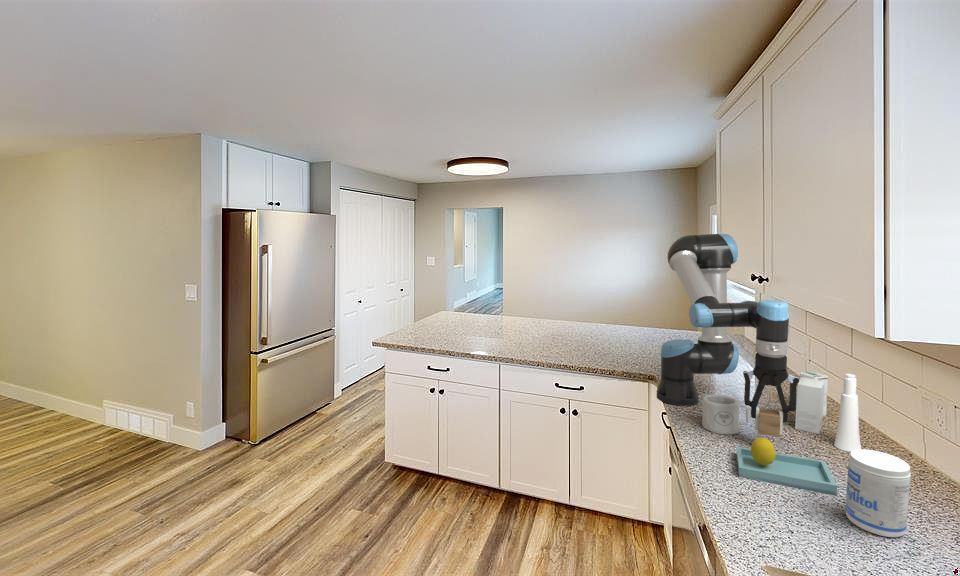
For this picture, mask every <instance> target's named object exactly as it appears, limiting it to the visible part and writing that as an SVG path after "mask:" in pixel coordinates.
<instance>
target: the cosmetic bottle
mask: <svg viewBox="0 0 960 576" xmlns="http://www.w3.org/2000/svg"><path fill="white" fill-rule="evenodd" d="M842 390H843V392H842V393H841V396H840V404H839V411H838V412H839V413H838V415H839V416H838V422H837V423H838V425H837V430H836V436H835V440H834V444H833V445H834V447H835V448H836V449H838V450H841V451H844V452H848V453H851V451H853V450H858V449H862V445H861V440H860V422H859V418H860V417H859V415H860V414H859V396H858V394H857V378H856V374H852V373H845V374H844V378H843V389H842Z"/></svg>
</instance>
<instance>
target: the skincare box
mask: <svg viewBox="0 0 960 576" xmlns="http://www.w3.org/2000/svg"><path fill="white" fill-rule="evenodd" d="M824 383H825V381H823V380H817V379H810V378H804V377H801V378H800V377H799V383H798V385H797V387H796V411H795V422H794V424H795V425H794V429H795V430H798V431H803V432H808V433H812V434H816V435H820V433H821V430H822V428H823V420H824V416H823V402H824Z"/></svg>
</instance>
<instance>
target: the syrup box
mask: <svg viewBox="0 0 960 576" xmlns="http://www.w3.org/2000/svg"><path fill="white" fill-rule="evenodd" d="M801 377H804V378H810V379H817V380H823V381H825V383H824V402H823V417H826V416H827V406H828V405H827V404H828V403H827V402H828V384H829V383H828V382H829V381H828V379H829V376H828V375H825V374H822V373H818V372H815V371H802V372H799V379H800V378H801Z"/></svg>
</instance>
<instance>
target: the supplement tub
mask: <svg viewBox="0 0 960 576" xmlns="http://www.w3.org/2000/svg"><path fill="white" fill-rule="evenodd" d="M911 475H912V473H911V466H910V465H909V463H908V462H906V461H904V459H901V458H899V457H897V456H894V455H892V454H889V453H886V452H881V451H878V450H873V449H865V448H864V449H862V448H861V449H858V450H853V451H851V452H849V458H848V464H847V480H846V496H845V497H846V498H845V515H846V517H847V518H848V520H850V522H851V523H852V524H854V525H856V526H857V527H859V528H860V529H862V530H864V531H867V532H869V533H871V534H875V535H878V536H880V537H881V536H882V537H884V538H885V537H887V538H900V537H902V536H904V535H905V534H906V532H907V526H908V525H907V524H908V523H907V522H908V512H909V502H910V501H909V500H910V490H911V477H912V476H911Z"/></svg>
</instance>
